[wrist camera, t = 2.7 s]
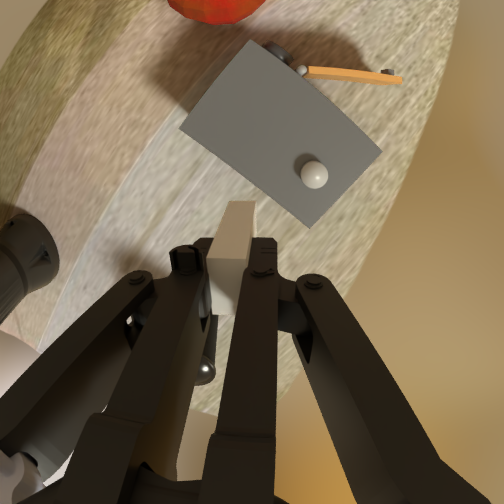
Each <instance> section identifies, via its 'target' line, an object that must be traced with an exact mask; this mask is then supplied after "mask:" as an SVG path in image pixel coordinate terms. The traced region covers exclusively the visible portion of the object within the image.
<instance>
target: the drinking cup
mask: <svg viewBox="0 0 504 504" xmlns="http://www.w3.org/2000/svg"><path fill="white" fill-rule="evenodd" d="M209 313H210V326H209V330H208V334H207V338H206V341H205V345H204V349H203V353H202V357H201V361H200V365H199V369H198V373H197V377H196V381H195V385H194V386H200V385H205V384H208V383H210V382H211V381H212V380H213V379H214V378H215V375H216V368H215V353H216V340H217V327H218V315H216V314H212V306H211V308H210V312H209Z"/></svg>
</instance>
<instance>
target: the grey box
mask: <svg viewBox="0 0 504 504" xmlns="http://www.w3.org/2000/svg"><path fill="white" fill-rule="evenodd" d="M293 60H294V59H293V58H292V56H291V55H290V54H289V53H287V52H286V51H285V50H284V49H283V48H281V47H280V46H278V45H277V44H275V43H274V42H272V41H269V40H267V41H266V42H265V43H264V44H263V45H262V47H261V46H260V45H258V44H257V43H255V42H254V41H253V40H251V39H250V40H249V41H248V42H247V43H246V44H245V46H244V47H243V48H242V49H241V50H240V51H239V52H238V53H237V55H236V56H235V57H234V58H233V59H232V60H231V62H230V63H229V64H228V65H227V66H226V68H225V69H224V70H223V71H222V72H221V74H220V75H219V76H218V77H217V79H216V80H215V81H214V82H213V83H212V85H211V86H210V87H209V89H208V90H207V91H206V92H205V94H204V95H203V96H202V98H201V99H200V100H199V101H198V103H197V104H196V105H195V107H194V108H193V109H192V111H191V112H190V114H189V115H188V116H187V118H186V119H185V120H184V122H183V123H182V125H181V126H180V127H179V129H180V130H181V131H183V132H184V133H186V134H187V135H188V136H190V137H191V138H193V139H194V140H195V141H197V142H198V143H199V144H201V145H202V146H204V147H205V148H206V149H208V150H209V151H210V152H212V153H213V154H214V155H216V156H217V157H219V158H220V159H221V160H223V161H224V162H225V163H227V164H228V165H229V166H231V167H232V168H233V169H235V170H236V171H237V172H238V173H240V174H241V175H242V176H244V177H245V178H246V179H248V180H249V181H250V182H252V183H253V184H254V185H255V186H257V187H258V188H259V189H261V190H262V191H263V192H264V193H266V194H267V195H268V196H270V197H271V198H272V199H273V200H275V201H276V202H277V203H278V204H280V205H281V206H282V207H283V208H285V209H286V210H287V211H288V212H290V213H291V214H292V215H293V216H295V217H296V218H297V219H298V220H299V221H301V222H302V223H303V224H304V225H306V226H307V227H308V228H309V229H310V228H311V227H312V226H313V225H314V224H315V223H316V222H317V221H318V220H319V219H320V217H321V216H322V215H323V214H324V213H325V212H326V211H327V210H328V209H329V208H330V207H331V206H332V205H333V204H334V203H335V202H336V201H337V200H338V199H339V198H340V197H341V196H342V194H343V193H344V192H345V191H346V190H347V189H348V188H349V187H350V186H351V185H352V184H353V183H354V182H355V181H356V180H357V179H358V178H359V176H360V175H361V174H362V173H363V172H364V171H365V170H366V169H367V168H368V167H369V166H370V165H371V164H372V163H373V162H374V160H375V159H376V158H377V157H378V156H379V155H380V154H381V153H382V150H381V149H380V148H379V147H378V146H377V145H376V144H375V143H374V142H373V141H372V140H371V139H370V138H369V137H368V136H367V135H366V134H365V133H364V132H363V131H362V130H361V129H360V128H359V127H358V126H357V125H356V124H355V123H354V122H353V121H352V120H350V119H349V118H348V117H347V116H346V115H345V114H344V113H343V112H342V111H341V110H340V109H339V108H338V107H336V106H335V105H334V104H333V103H332V102H331V101H330V100H329V99H327V98H326V97H325V96H324V95H323V94H322V93H320V92H319V91H318V90H317V89H316V88H315V87H313V86H312V85H311V84H310V83H309V82H307V81H306V80H305V79H304V78H302V77H301V76H300V75H299V74H297V73H296V72H295V71H294V70H292V69H291V68H290V67H288V66H289V65H290V64H291V62H292V61H293Z"/></svg>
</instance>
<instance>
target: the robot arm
mask: <svg viewBox="0 0 504 504" xmlns="http://www.w3.org/2000/svg"><path fill="white" fill-rule="evenodd" d="M169 255H170V261H171V267H172V272H171V273H170V275H169V277H166V278H161V279H155V280H153V277H152V274H151V273H150V272H148V271H142V270H137V271H133V272H131V273H128V274H127V275H125V276H124V277H123V278H122V279H121V280H119V281H118V282H117V283H116V284H115V285H114V286H113V287H112V288H110V289H109V290H108V291H107V292H106V293H105V294H104V295H103V296H102V297H101V298H99V299H98V300H97V301H96V302H95V303H94V304H93V305H92V306H91V307H90V308H89V309H88V310H87V311H86V312H84V313H83V314H82V315H81V316H80V317H79V318H78V319H77V320H76V321H75V322H74V323H73V324H72V325H71V326H70V327H69V328H68V329H67V330H66V331H65V332H64V333H63V334H62V335H60V336H59V337H58V338H57V339H56V340H55V341H54V342H53V343H52V344H51V345H50V346H49V347H48V348H47V349H46V350H45V351H44V352H43V353H42V354H41V355H40V357H39V358H38V359H37V360H36V361H35V362H34V363H33V364H32V365H31V366H30V367H29V368H28V369H27V370H26V371H25V372H24V373H23V374H22V375H21V376H20V377H19V378H18V379H17V381H16V382H15V383H14V384H13V385H12V386H11V387H10V388H9V389H8V391H6V393H5V394H4V395H3V396H2V397H1V398H0V504H289V503H287V502H286V501H284V500H283V499H281V498H279V497H277V496H275V495H274V479H275V454H276V436H275V434H276V398H277V343H278V330H280V331H284V332H287V333H291V334H292V339H293V342H294V344H295V347H296V349H297V352H298V354H299V357H300V359H301V362H302V365H303V367H304V370H305V372H306V375H307V377H308V380H309V382H310V385H311V387H312V390H313V392H314V395H315V397H316V400H317V403H318V405H319V408H320V410H321V413H322V416H323V418H324V421H325V423H326V426H327V428H328V431H329V434H330V436H331V439H332V441H333V444H334V447H335V449H336V451H337V454H338V457H339V459H340V462H341V464H342V467H343V470H344V472H345V475H346V477H347V480H348V483H349V485H350V488H351V491H352V493H353V496H354V498H355V500H356V502H357V504H491V503H490V501H489V500H488V499H487V498H486V497H485V496H484V495H482V494H481V493H480V492H479V491H478V490H476V489H475V488H474V487H473V486H472V485H470V484H469V483H468V482H467V481H466V480H464V479H463V478H462V477H461V476H460V475H459V474H457V473H456V472H455V471H454V470H453V469H451V468H450V467H449V466H448V465H447V464H446V463H445V462H443V461H442V460H441V459H440V457H439V456H438V454H437V452H436V450H435V448H434V446H433V445H432V443H431V441H430V439H429V438H428V436H427V434H426V432H425V431H424V429H423V427H422V425H421V423H420V422H419V420H418V418H417V417H416V415H415V414H414V411H413V410H412V408H411V406H410V405H409V403H408V401H407V400H406V398H405V396H404V395H403V393H402V392H401V390H400V388H399V386H398V385H397V383H396V381H395V380H394V378H393V377H392V375H391V373H390V372H389V370H388V369H387V367H386V365H385V364H384V362H383V361H382V359H381V357H380V356H379V354H378V353H377V351H376V350H375V348H374V346H373V345H372V343H371V342H370V340H369V338H368V337H367V335H366V334H365V332H364V331H363V329H362V328H361V326H360V325H359V323H358V321H357V320H356V319H355V317H354V315H353V314H352V313H351V311H350V310H349V308H348V306H347V305H346V303H345V302H344V300H343V299H342V297H341V296H340V294H339V293H338V291H337V290H336V288H335V287H334V285H333V284H332V283H331V281H330V280H329V279H328V278H327V277H324V276H322V275H319V274H305V275H302V276H300V277H299V278H298V279H297V281H296V282H295V281H291V280H287V279H285V278H283V277H282V276H280V274H279V273H278V270H277V242H276V241H275V240H274V238H262V237H256V201H229V203H228V206H227V208H226V210H225V213H224V215H223V218H222V220H221V223H220V225H219V227H218V230H217V232H216V235H215V237H214V238H200V239H198V240H197V241H195V242H194V244H193V245H181V246H178V247H175V248H173V249H172V250H171V251H170V252H169ZM58 270H59V255H58V250H57V247H56V245H55V242H54V240H53V238H52V236H51V235H50V233H49V232H48V230H47V229H46V228H45V227H44V225H43V224H42V223H41V222H39V221H38V220H37V219H36V218H34V217H32V216H30V215H27V214H19V215H16V216H14V217H13V218H11V219H10V220H9V221H7V222H6V224H5V225H4V226H3V228H2V229H1V231H0V325H1V324H2V323H3V321H4V320H5V319H6V318H7V317H8V315H9V314H10V313H11V312H12V311H13V310H14V308H15V307H16V306H17V305H18V304H19V303H20V302H21V300H22V299H23V298H24V297H25V296H26V295H27V294H29V293H31V292H33V291H35V290H38V289H40V288H42V287H44V286H46V285H48V284H49V283H50V282H51V281H52V280H53V279H54V278H55V277H56V275H57V273H58ZM211 306H212V314H216V315H236V316H235V322H234V327H233V333H232V339H231V344H230V350H229V356H228V362H227V367H226V373H225V379H224V385H223V390H222V396H221V402H220V408H219V413H218V420H217V425H216V430H215V433H213V434H211V437H210V439H209V443H208V447H207V453H206V459H205V465H204V470H203V475H202V480H193V481H177V469H176V462H177V457H178V453H179V448H180V444H181V440H182V435H183V431H184V427H185V423H186V418H187V414H188V410H189V406H190V402H191V398H192V394H193V389H194V385H195V381H196V377H197V373H198V369H199V365H200V361H201V357H202V353H203V349H204V345H205V341H206V338H207V334H208V330H209V326H210V313H209V312H210V308H211ZM130 316H131V318H132V322H131V323H130V324H127V321H126V320H127V319H128V318H129V317H130ZM107 404H108V405H107ZM106 406H107V407H106ZM105 407H106V409H105V411H104V412H102V411H103V410H104V408H105ZM101 412H102V413H101ZM73 450H74V452H73ZM72 452H73V454H72V457H71V459H70V461H69V464H68V466H67V469H66V471H65V474H64V477H62V478H60V479H59V480H57V481H55V482H54V483H52V484H50V485H49V486H47V487H46V486H45V485H44V484H43V482H44V481H46V480H47V479H48V478H50V477H51V476H52V475H53V474H54V473H55V472H56V471H57V470H58V469H59V468H60V467H61V466H62V465H63V463H64V462H65V461H66V460H67V459H68V457H69V456H70V454H71V453H72Z"/></svg>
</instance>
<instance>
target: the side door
mask: <svg viewBox="0 0 504 504" xmlns="http://www.w3.org/2000/svg"><path fill="white" fill-rule="evenodd" d="M295 72H296V73H297V74H299V75H300V76H302V78H312V79H328V80H341V81H351V82H360V83H368V84H376V85H390V84H402V77H399V76H394V70H391V69H385V70H381V73H374V72H367V71H359V70H350V69H341V68H329V67H314V66H308V67H307V68H306V67H305V66H304V65H300V66H298V67H297V69H296V70H295Z"/></svg>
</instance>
